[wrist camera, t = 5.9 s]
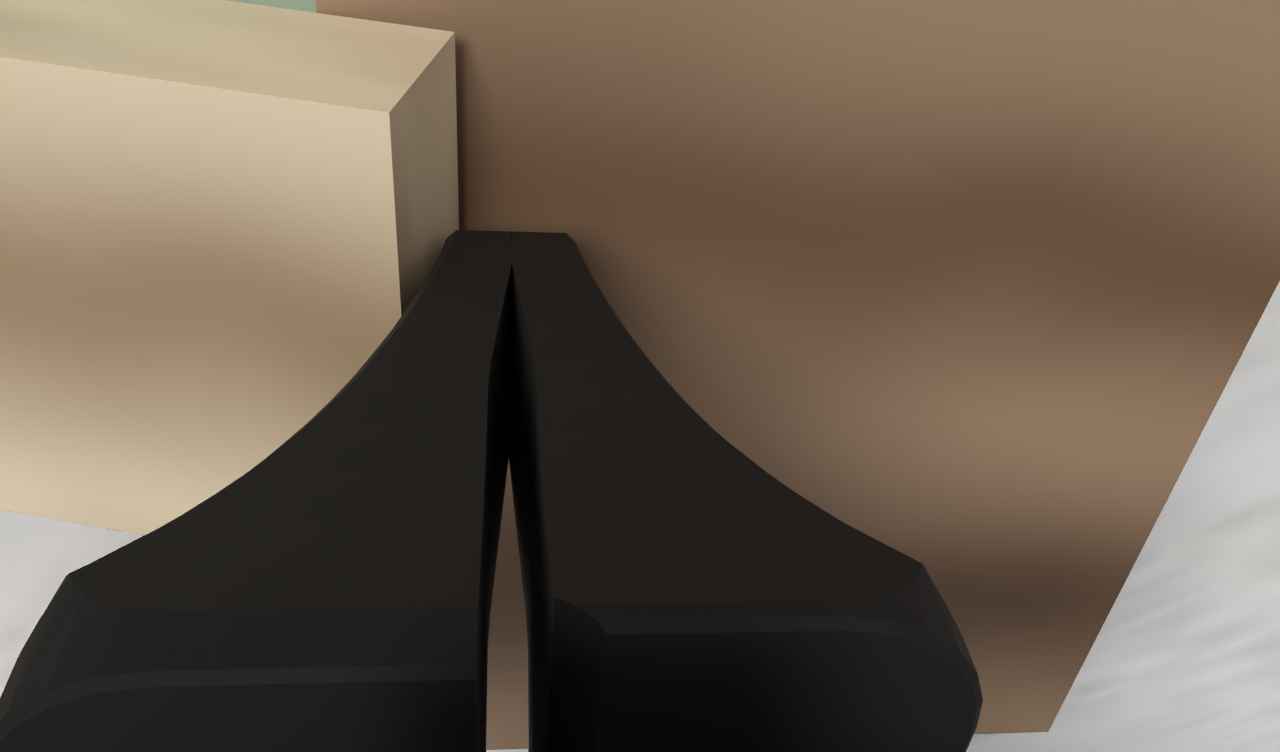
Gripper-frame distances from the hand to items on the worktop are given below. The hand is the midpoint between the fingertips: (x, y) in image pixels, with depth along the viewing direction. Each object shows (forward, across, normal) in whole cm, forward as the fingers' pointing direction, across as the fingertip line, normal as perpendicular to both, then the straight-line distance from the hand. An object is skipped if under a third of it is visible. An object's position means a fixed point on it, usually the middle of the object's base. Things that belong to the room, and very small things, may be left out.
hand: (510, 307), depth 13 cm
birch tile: (+2, +4, 0) cm, 5 cm away
